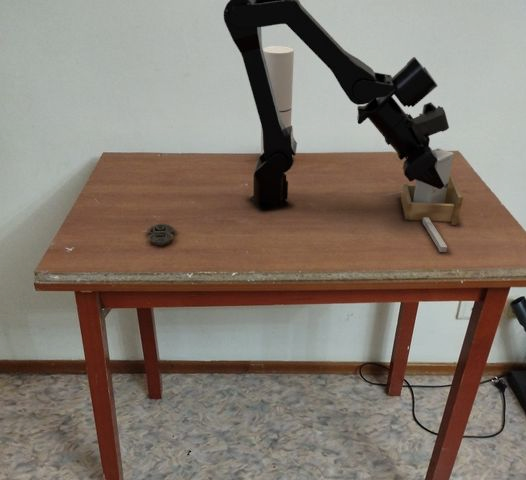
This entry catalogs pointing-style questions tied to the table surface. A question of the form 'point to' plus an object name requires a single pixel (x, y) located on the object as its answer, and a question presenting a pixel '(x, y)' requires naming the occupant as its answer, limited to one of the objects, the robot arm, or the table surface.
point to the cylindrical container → (280, 80)
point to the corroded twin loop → (160, 234)
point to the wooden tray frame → (433, 204)
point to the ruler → (434, 234)
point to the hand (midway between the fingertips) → (439, 180)
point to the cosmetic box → (443, 167)
